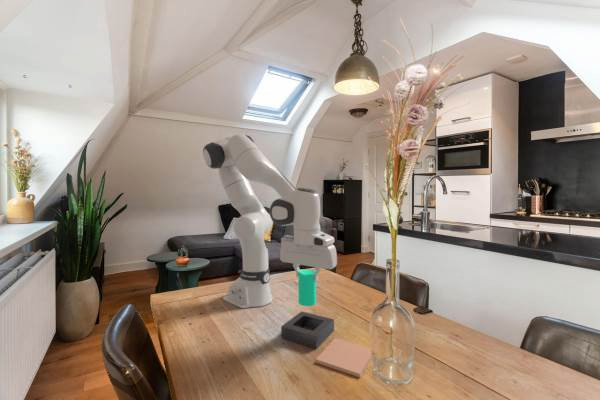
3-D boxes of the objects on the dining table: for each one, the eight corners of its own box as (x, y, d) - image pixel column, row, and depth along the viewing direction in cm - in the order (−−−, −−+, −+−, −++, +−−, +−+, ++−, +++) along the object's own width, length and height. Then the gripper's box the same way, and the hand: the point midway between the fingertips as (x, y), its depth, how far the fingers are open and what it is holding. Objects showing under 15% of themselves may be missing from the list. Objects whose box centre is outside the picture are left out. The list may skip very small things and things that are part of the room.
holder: (281, 338, 96) (281, 326, 95) (301, 322, 107) (301, 311, 106) (316, 349, 89) (316, 336, 89) (334, 330, 100) (333, 319, 100)
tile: (316, 362, 82) (315, 359, 82) (334, 341, 93) (334, 338, 93) (360, 377, 75) (360, 373, 75) (374, 352, 87) (374, 349, 87)
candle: (294, 302, 97) (294, 267, 97) (307, 297, 102) (307, 263, 101) (307, 307, 93) (307, 271, 92) (320, 302, 97) (320, 267, 97)
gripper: (276, 235, 99) (276, 275, 100) (330, 241, 88) (330, 286, 89) (286, 233, 104) (286, 271, 105) (339, 238, 94) (338, 280, 94)
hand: (307, 278), depth 97 cm, fingers closed on candle, 5 cm apart
